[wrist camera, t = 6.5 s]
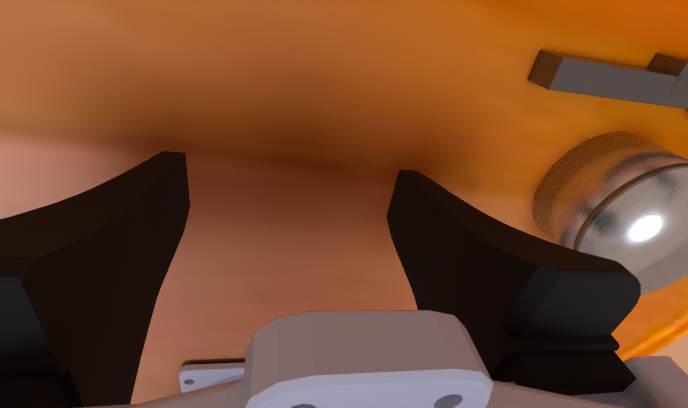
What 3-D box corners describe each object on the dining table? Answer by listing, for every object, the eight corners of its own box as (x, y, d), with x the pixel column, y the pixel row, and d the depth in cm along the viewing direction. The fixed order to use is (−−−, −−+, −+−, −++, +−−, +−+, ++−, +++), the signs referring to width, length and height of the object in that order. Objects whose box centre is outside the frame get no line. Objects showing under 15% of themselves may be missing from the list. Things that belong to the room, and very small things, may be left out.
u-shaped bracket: (628, 280, 21) (645, 296, 20) (442, 278, 18) (451, 296, 17) (796, 78, 14) (833, 87, 13) (547, 34, 12) (571, 40, 11)
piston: (606, 236, 18) (677, 296, 15) (512, 233, 17) (567, 297, 14) (676, 136, 15) (784, 184, 12) (568, 125, 14) (654, 174, 11)
